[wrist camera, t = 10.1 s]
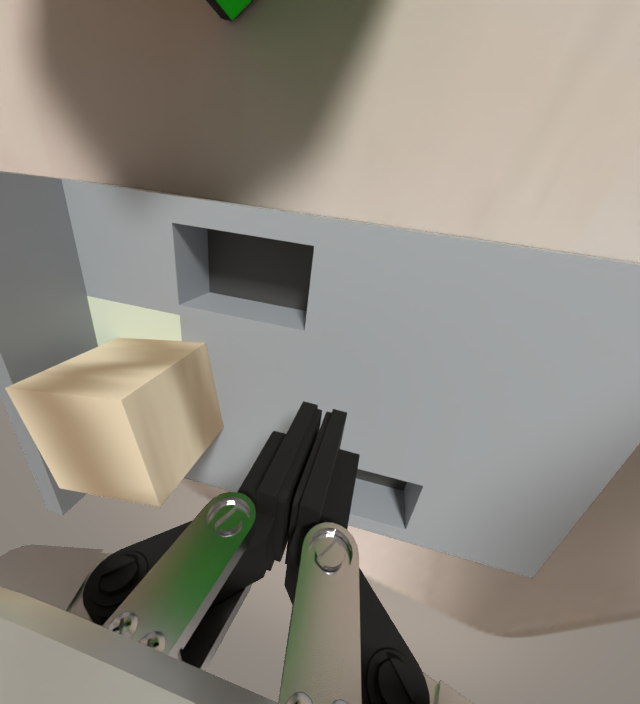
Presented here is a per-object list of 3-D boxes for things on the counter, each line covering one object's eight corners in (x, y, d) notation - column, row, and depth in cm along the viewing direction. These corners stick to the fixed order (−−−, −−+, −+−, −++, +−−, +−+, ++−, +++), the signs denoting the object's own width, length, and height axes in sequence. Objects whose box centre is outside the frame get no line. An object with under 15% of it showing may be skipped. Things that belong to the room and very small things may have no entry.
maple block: (206, 342, 14) (121, 400, 10) (223, 427, 16) (160, 507, 12) (118, 337, 15) (5, 388, 11) (145, 417, 17) (59, 488, 13)
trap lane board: (679, 268, 12) (1016, 329, 5) (511, 526, 19) (572, 682, 12) (102, 183, 15) (-100, 159, 9) (143, 427, 22) (47, 509, 16)
